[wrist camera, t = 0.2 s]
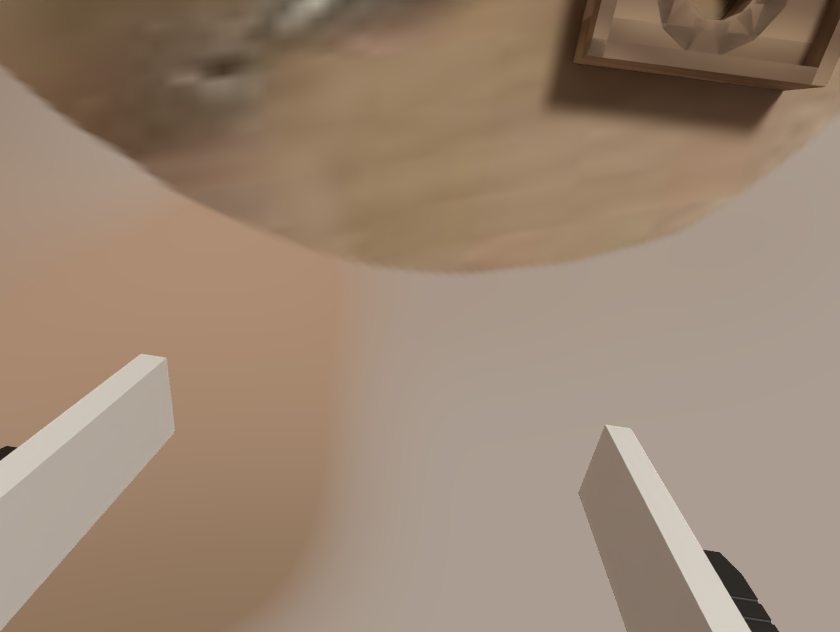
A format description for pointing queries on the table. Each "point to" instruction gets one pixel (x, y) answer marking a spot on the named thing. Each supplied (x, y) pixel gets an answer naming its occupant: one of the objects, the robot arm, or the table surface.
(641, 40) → the board
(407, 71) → the table surface
